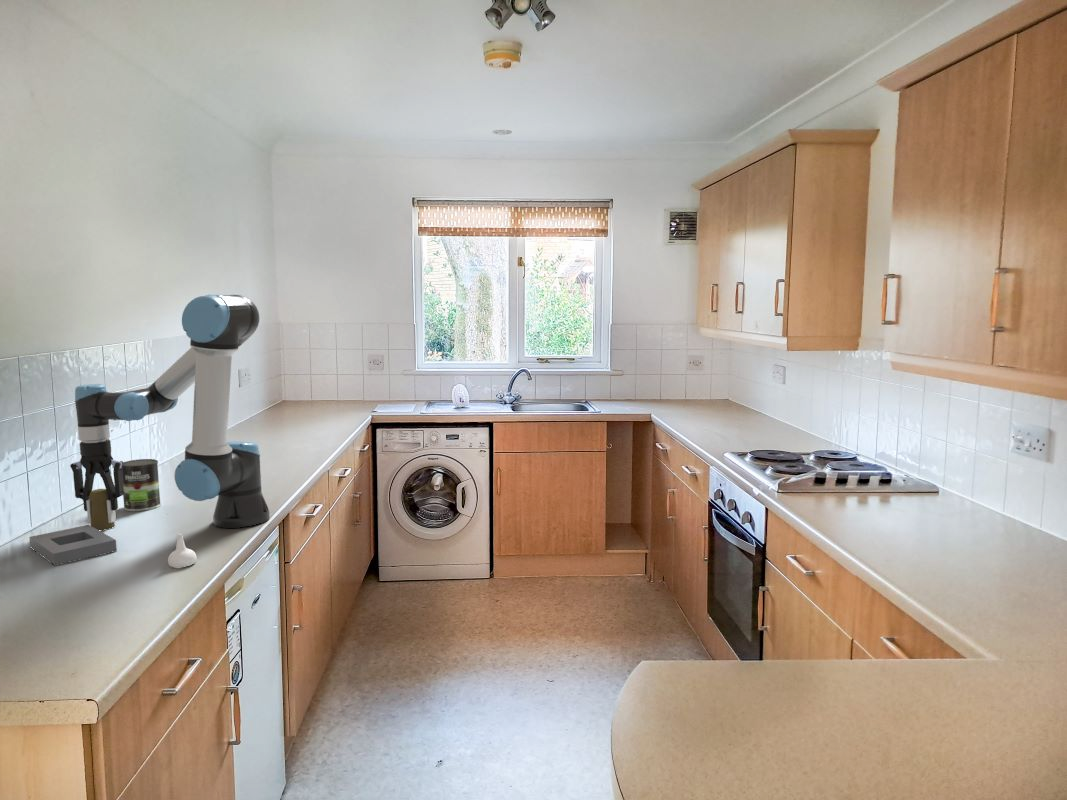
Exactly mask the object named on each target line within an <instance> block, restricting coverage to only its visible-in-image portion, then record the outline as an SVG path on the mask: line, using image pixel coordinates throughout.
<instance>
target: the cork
mask: <svg viewBox="0 0 1067 800" xmlns="http://www.w3.org/2000/svg"><path fill="white" fill-rule="evenodd" d="M89 498H90V500H91V501H92V514H91V523H90V526H92V527H94V528H95V529H97V530H102V531H105V530H104V529H108V530H110V529H109V528H111V529H113V528H112V527H114V526H115V527H116V525H115V524H116V523H115V521H114V522H112V523H109V522H108V511H107V500H108V499H109V496H108V493H107V490H106V488H97V489H92V491H91V492H90V495H89ZM115 527H114V528H115Z"/></svg>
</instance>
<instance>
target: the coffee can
mask: <svg viewBox="0 0 1067 800" xmlns="http://www.w3.org/2000/svg"><path fill="white" fill-rule="evenodd" d="M123 463H124V464H123V467H122V475H123V486H124V495H122V497H123V510H125V511H126V512H144V511H143V510H145V511H150V509H151V510H154V509H158V508H159V507H161V505H162V503H161V493H160V492H161V491H160V477H159V466H158V465H159V460H157V459H154V458H153V459H152V458H139V459H132V460H128V461H123Z"/></svg>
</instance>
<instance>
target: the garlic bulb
mask: <svg viewBox="0 0 1067 800" xmlns="http://www.w3.org/2000/svg"><path fill="white" fill-rule="evenodd" d="M176 536H177V537H176V546H175V547H176V548H175V550H173V551H172V552H171V553H170V554H169V556H168V558H167V563H168V566H169V567H170V566H171V567H170V568H172V567H184V566H188V565H192V564H194V563H195V562H196V563H197V554H196V552H195V551H194V550H192V549H191V548H187V547H186V544H185V541H184V536H183V533H182V532H181V533H178V534H177V535H176ZM196 563H195V564H196ZM195 564H194V565H195ZM192 566H193V565H192Z"/></svg>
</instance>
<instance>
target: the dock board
mask: <svg viewBox="0 0 1067 800" xmlns="http://www.w3.org/2000/svg"><path fill="white" fill-rule="evenodd" d="M29 547H32V548H33V549H34V550H35V551H37V552H38V553H39V554H41V555H42V556H44V557H45V558H46V559H48V560H49V561H50V562H51V563H50V562H49V561H48V560H47V561H48V562H49V563H50V564H52V563H53V564H54V565H53V564H52V565H53V566H55V565H56V566H58V565H57V564H60V565H62V564H61V563H64V564H66V563H65V562H69V561H73V562H75V561H74V560H77V561H80V560H79V559H81V560H84V559H83V558H86V559H89V558H88V557H90V558H93V557H92V556H94V557H97V556H96V555H99V556H101V555H100V554H103V555H105V554H104V553H107V554H109V553H108V552H111V553H113V552H112V551H116V550H118V549H117V539H115V538H113V537H112V536H109V535H107V534H106V533H104V532H103V531H99V530H97V529H95V528H94V527H92V526H91V524H86V525H80V526H76V527H71V528H66V529H62V530H57V531H52V532H51V531H50V532H47V533H41V534H38V535H33V536H29ZM34 550H33V551H34ZM35 551H34V552H35ZM37 552H36V553H37ZM116 552H117V551H116ZM38 553H37V554H38ZM39 554H38V555H39ZM41 555H40V556H41ZM42 556H41V557H42ZM45 558H44V559H45ZM46 559H45V560H46ZM69 563H70V562H69Z"/></svg>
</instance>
